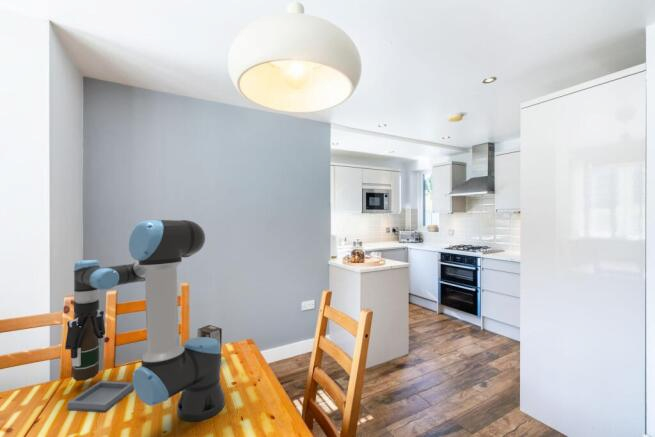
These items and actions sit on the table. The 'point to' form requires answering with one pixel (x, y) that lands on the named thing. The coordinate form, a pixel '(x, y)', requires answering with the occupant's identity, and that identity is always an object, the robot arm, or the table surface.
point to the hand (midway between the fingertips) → (86, 360)
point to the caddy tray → (100, 396)
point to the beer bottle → (88, 354)
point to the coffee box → (211, 334)
